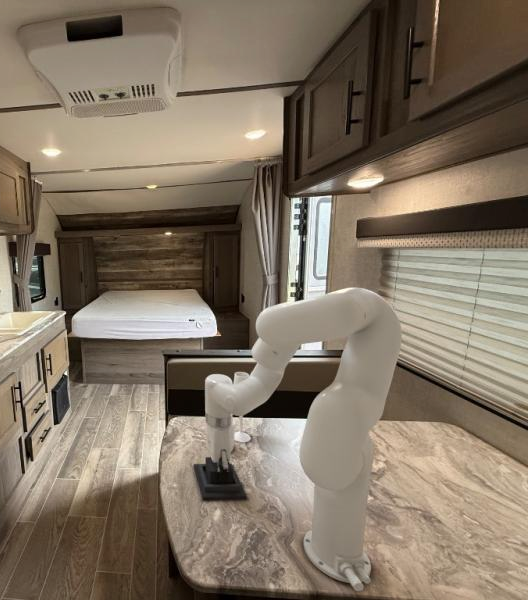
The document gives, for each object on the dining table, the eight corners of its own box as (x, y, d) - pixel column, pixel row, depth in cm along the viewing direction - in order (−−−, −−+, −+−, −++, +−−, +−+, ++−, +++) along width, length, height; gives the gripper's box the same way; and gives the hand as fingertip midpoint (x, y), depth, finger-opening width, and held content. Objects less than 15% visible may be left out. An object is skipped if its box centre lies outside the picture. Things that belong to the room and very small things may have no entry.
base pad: (246, 499, 90) (246, 491, 90) (202, 500, 90) (202, 492, 90) (231, 466, 104) (231, 458, 103) (193, 466, 104) (193, 459, 104)
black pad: (233, 483, 93) (233, 470, 93) (210, 484, 93) (210, 471, 93) (226, 468, 100) (226, 456, 99) (205, 469, 100) (205, 457, 99)
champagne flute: (245, 431, 123) (246, 370, 119) (253, 441, 116) (255, 377, 113) (228, 432, 122) (228, 371, 119) (235, 442, 116) (236, 378, 112)
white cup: (210, 452, 111) (210, 424, 110) (212, 439, 119) (212, 413, 117) (235, 455, 109) (235, 428, 107) (235, 442, 116) (235, 416, 115)
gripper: (199, 404, 102) (200, 456, 105) (212, 435, 85) (213, 496, 88) (223, 403, 102) (223, 456, 105) (241, 434, 85) (241, 496, 88)
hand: (218, 474), depth 96 cm, fingers closed on black pad, 6 cm apart
